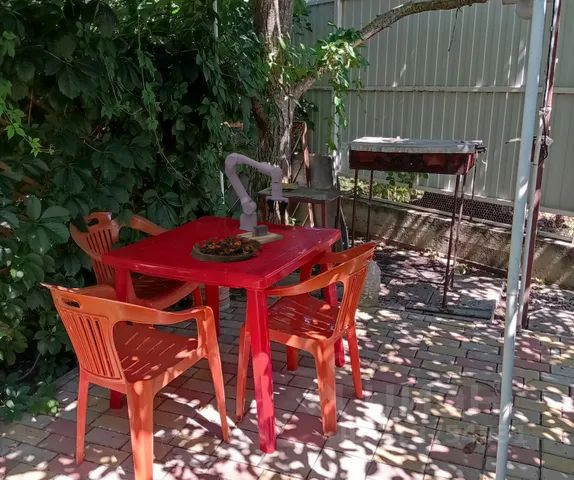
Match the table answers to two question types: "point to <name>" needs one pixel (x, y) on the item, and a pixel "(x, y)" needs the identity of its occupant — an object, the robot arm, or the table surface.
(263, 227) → the jaw block
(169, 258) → the table surface
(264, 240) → the base plate
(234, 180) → the robot arm
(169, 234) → the table surface
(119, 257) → the table surface
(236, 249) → the food dish
